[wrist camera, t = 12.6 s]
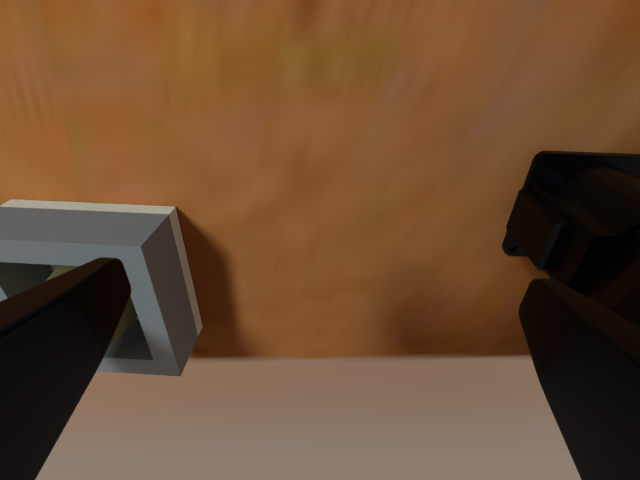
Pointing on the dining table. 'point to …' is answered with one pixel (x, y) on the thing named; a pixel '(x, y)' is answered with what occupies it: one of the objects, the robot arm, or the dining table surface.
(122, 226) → the box
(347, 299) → the dining table surface
